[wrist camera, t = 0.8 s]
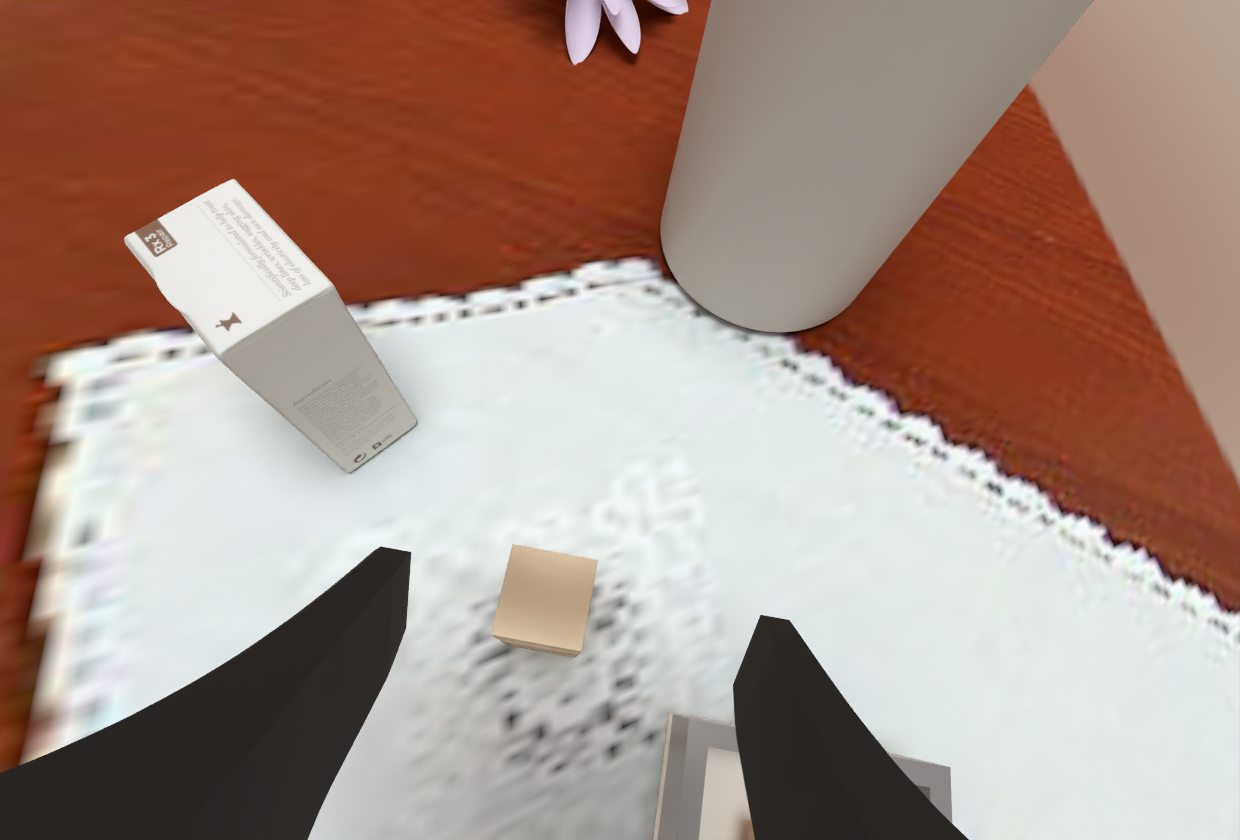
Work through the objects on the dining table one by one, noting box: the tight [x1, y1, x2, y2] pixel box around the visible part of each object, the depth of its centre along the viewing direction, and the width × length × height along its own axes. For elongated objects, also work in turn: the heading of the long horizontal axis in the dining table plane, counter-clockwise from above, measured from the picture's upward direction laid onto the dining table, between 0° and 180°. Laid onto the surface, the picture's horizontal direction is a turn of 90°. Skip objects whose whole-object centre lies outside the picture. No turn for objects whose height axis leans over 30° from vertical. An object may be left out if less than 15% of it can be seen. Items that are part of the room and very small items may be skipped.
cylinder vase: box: [660, 0, 1094, 332], centre depth 26 cm, size 12×12×25 cm
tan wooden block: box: [491, 544, 598, 657], centre depth 25 cm, size 3×3×8 cm
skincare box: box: [125, 179, 416, 473], centre depth 26 cm, size 6×4×12 cm
